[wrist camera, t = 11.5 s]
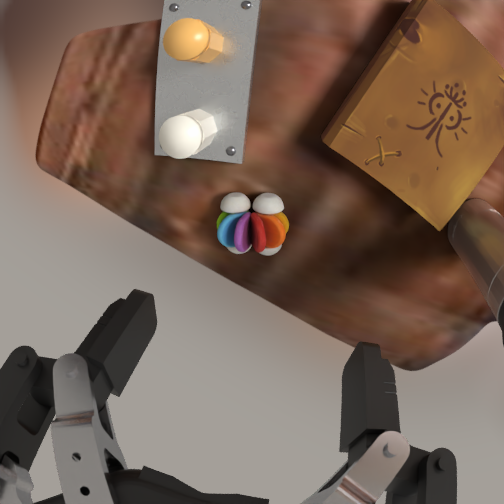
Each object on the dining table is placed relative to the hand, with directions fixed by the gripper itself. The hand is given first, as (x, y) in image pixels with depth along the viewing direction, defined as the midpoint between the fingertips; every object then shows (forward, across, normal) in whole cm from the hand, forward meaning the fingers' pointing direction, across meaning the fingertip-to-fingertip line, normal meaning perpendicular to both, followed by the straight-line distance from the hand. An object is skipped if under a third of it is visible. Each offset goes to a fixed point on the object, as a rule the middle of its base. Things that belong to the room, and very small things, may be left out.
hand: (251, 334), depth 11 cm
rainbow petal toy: (+30, +4, +10) cm, 32 cm away
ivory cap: (+28, +13, -2) cm, 30 cm away
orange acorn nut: (+28, +13, -12) cm, 33 cm away
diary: (+31, -15, -10) cm, 36 cm away
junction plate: (+29, +13, -8) cm, 33 cm away
